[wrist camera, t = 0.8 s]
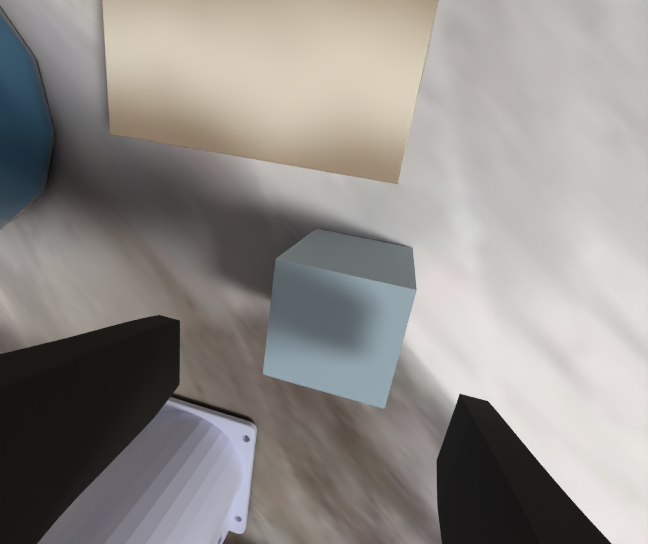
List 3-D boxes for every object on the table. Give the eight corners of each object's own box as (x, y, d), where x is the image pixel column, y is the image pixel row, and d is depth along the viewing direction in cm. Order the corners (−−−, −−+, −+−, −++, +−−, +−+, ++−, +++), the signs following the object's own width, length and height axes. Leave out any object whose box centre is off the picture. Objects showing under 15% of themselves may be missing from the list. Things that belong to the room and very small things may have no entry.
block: (390, 333, 17) (384, 408, 12) (304, 312, 17) (262, 374, 12) (412, 247, 15) (416, 289, 10) (316, 228, 16) (275, 258, 11)
